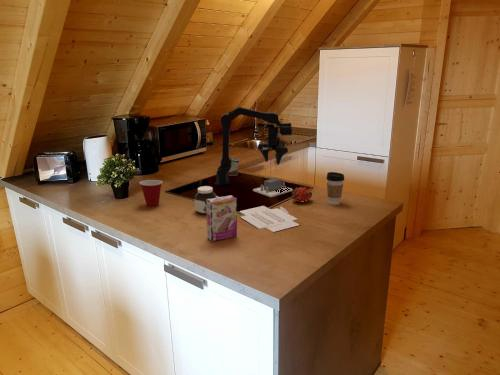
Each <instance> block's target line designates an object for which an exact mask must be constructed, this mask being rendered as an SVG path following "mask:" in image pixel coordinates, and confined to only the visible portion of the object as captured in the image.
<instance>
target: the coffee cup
mask: <svg viewBox="0 0 500 375" xmlns="http://www.w3.org/2000/svg"><path fill="white" fill-rule="evenodd" d="M326 181H327V182H326V185H327V186H326V187H327V188H326V189H327V190H326V191H327V193H326V194H327V204H328V205H331V206H339V205H340V204H341V199H342V195H343V194H342V193H343V188H344V181H345V175H344V173H341V172H336V171H335V172H334V171H329V172H327V174H326ZM328 201H331V202H339V201H340V203H330V202H328Z"/></svg>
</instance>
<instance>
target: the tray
mask: <svg viewBox="0 0 500 375" xmlns="http://www.w3.org/2000/svg"><path fill="white" fill-rule="evenodd" d="M282 187H283V188H281V189H283V190H285V189H287V188H288V189H290V190H288V189H287V190H288V191H287V190H285V191H283V190H282V191H283V192H281V193H280V190H281V189H278V190H279V192H278V190H277V192H276V191H275V190H274V191H271V192H269V191H268V187H266V190H264V184H260V187H256V188H253V189H252V191H253V192H255V193H258V194H261V195H263V196H267V197H269V198H274V197H277V196H280V195H284V194H286V193H290V192H293V190H294V189H293V188H291V187H287V186H286V184H285V181H283V182H282ZM284 187H285V188H284ZM286 187H287V188H286Z"/></svg>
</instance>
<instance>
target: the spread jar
mask: <svg viewBox="0 0 500 375" xmlns="http://www.w3.org/2000/svg"><path fill="white" fill-rule="evenodd" d="M218 197H219V196H218V195H217V194H216V193H215V192H214V189H213V187H212V186H209V185H204V186H199V187H198V188H197V193H196V194H195V196H194V208H195V211H196V212H197V214H199V215H202V216H207V205H206V199H211V198H218Z"/></svg>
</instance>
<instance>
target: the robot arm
mask: <svg viewBox="0 0 500 375" xmlns="http://www.w3.org/2000/svg"><path fill="white" fill-rule="evenodd" d="M240 115H241V116H245V117H250V118H255V119H259V120H262V121H265V122H266V123H265V125H264V126H263V128H264V129H267V137H265V140H267V142H262V143H258V145H257V149H258V150H259V152H260V154H262V156H263V158H264V160H265V163H267V162H268V161H269V152H270V150H272V151H275V153H274V156H275V160H276V164H277V165H278V166H279V165H280V163H281V161H282V158H283V156H284V155H286V154H287V153H289V152H288V151H289V148H288V147H286V143H287V142H286V141H283V140H281V138H280V137H279V135H280V136H287V137H288V136H292V134H293V128H292V122H285V123H283V122H281V121H280V120H279V115H278V113H276V112H275V111H274V112H273V111H260V110H255V109H251V108H246V107H242V106H237V107H236V108H234V109H232V110H231V111H229V112H228V113H227V112H225V113H223V114H222V115H221V117H220V122H221V129H222V157H221V159H222V160H221V163H220V165H219V166H218V167H217V169H216V174H215V177H216V179H215V180H216V181H215V182H214V184H215V185H218V186H219V187H224V186H228V185H230V184H231V182H230V176H229V175H228V173H227V172H228V171H230V167H232V163H231V162H232V158H233V157H230V130H231V125H232V122H233V120H235V119H236V118H238V117H239V116H240ZM277 165H276V166H277Z"/></svg>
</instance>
